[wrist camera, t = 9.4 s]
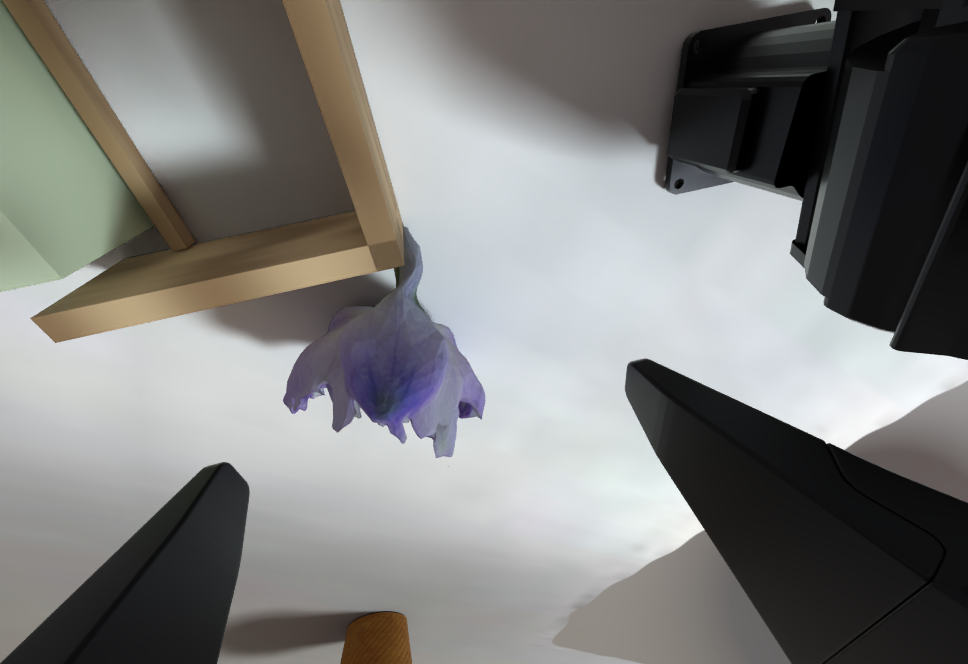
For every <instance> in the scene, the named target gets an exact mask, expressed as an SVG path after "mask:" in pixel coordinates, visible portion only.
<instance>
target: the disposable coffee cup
mask: <svg viewBox="0 0 968 664" xmlns="http://www.w3.org/2000/svg"><path fill="white" fill-rule="evenodd" d="M341 664H412V659H411V651H410V643H409V635H408V627H407V619H406V617H405V616H404V615H402V614H399V613H393V612H380V613H375V614H369V615H366V616H364V617H361V618H359V619H357V620H355V621H354V622H352V623H351V624H350V625H349V626H348V628H347V633H346V638H345V643H344V648H343V653H342V658H341Z"/></svg>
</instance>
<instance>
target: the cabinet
mask: <svg viewBox="0 0 968 664" xmlns="http://www.w3.org/2000/svg"><path fill="white" fill-rule="evenodd" d="M2 1H3V2H4V4H5V5H6V7H7V8H8V10H9V11H10V13H11V14H12V16H13V17H14V18H15V20H16V21H17V23H18V24H19V26H20V27H21V29H22V30H23V32H24V33H25V35H26V36H27V38H28V39H29V41H30V42H31V44H32V45H33V46H34V48H35V49H36V51H37V52H38V54H39V55H40V57H41V58H42V60H43V61H44V63H45V64H46V66H47V67H48V69H49V70H50V72H51V73H52V74H53V76H54V77H55V79H56V80H57V82H58V83H59V85H60V86H61V88H62V89H63V91H64V92H65V94H66V95H67V97H68V98H69V100H70V101H71V102H72V104H73V105H74V107H75V108H76V110H77V111H78V113H79V114H80V116H81V117H82V119H83V120H84V122H85V123H86V125H87V126H88V128H89V129H90V130H91V132H92V133H93V135H94V136H95V138H96V139H97V141H98V142H99V144H100V145H101V147H102V148H103V150H104V151H105V153H106V154H107V156H108V157H109V159H110V160H111V161H112V163H113V164H114V166H115V167H116V169H117V170H118V172H119V173H120V175H121V176H122V178H123V179H124V181H125V182H126V184H127V185H128V187H129V188H130V189H131V191H132V192H133V194H134V195H135V197H136V198H137V200H138V201H139V203H140V204H141V206H142V207H143V209H144V210H145V212H146V213H147V215H148V216H149V217H150V219H151V220H152V222H153V223H154V225H155V226H156V228H157V229H158V231H159V232H160V234H161V235H162V237H163V238H164V240H165V241H166V243H167V244H168V245H169V247H170V248H171V249H170V250H165V251H160V252H155V253H150V254H146V255H141V256H136V257H131V258H126V259H123V260H121V261H120V262H118V263H117V264H115V265H114V266H112V267H110V268H109V269H107V270H106V271H104V272H103V273H101V274H99V275H98V276H96V277H95V278H93V279H92V280H90V281H88V282H87V283H85V284H84V285H82V286H81V287H79V288H77V289H76V290H74V291H73V292H71V293H70V294H68V295H66V296H65V297H63V298H62V299H60V300H59V301H57V302H55V303H54V304H52V305H51V306H49V307H48V308H46V309H44V310H43V311H41V312H40V313H38V314H37V315H35V316H33V317H32V318H30V319H31V320H32V321H33V322H34V323H36V324H37V325H38V326H39V327H40V328H41V329H42V330H43V331H44V332H45V333H46V334H47V335H48V336H49V337H50V338H51V339H52V340H53V341H54V342H55V343H57V342H61V341H66V340H71V339H75V338H80V337H84V336H89V335H93V334H98V333H102V332H107V331H111V330H116V329H120V328H125V327H129V326H134V325H138V324H143V323H147V322H152V321H156V320H161V319H165V318H170V317H174V316H179V315H183V314H188V313H193V312H197V311H202V310H206V309H211V308H215V307H220V306H224V305H229V304H233V303H238V302H242V301H247V300H251V299H256V298H260V297H265V296H269V295H274V294H278V293H283V292H287V291H292V290H296V289H301V288H305V287H310V286H315V285H319V284H324V283H328V282H333V281H337V280H342V279H346V278H351V277H355V276H360V275H364V274H369V273H373V272H378V271H382V270H387V269H391V268H396V267H400V266H404V244H403V223H402V219H401V216H400V212H399V209H398V205H397V201H396V198H395V194H394V191H393V187H392V184H391V180H390V177H389V173H388V170H387V166H386V163H385V159H384V155H383V152H382V148H381V145H380V141H379V138H378V134H377V131H376V127H375V124H374V120H373V116H372V113H371V109H370V106H369V102H368V99H367V95H366V92H365V88H364V85H363V81H362V78H361V74H360V70H359V67H358V63H357V60H356V56H355V53H354V49H353V46H352V42H351V39H350V35H349V31H348V28H347V24H346V21H345V17H344V14H343V10H342V7H341V3H340V0H282V2H283V5H284V7H285V10H286V13H287V16H288V19H289V22H290V25H291V27H292V30H293V33H294V36H295V39H296V42H297V45H298V47H299V50H300V53H301V56H302V59H303V62H304V65H305V67H306V70H307V73H308V76H309V79H310V82H311V85H312V87H313V90H314V93H315V96H316V99H317V102H318V105H319V107H320V110H321V113H322V116H323V119H324V122H325V125H326V127H327V130H328V133H329V136H330V139H331V142H332V145H333V147H334V150H335V153H336V156H337V159H338V162H339V165H340V167H341V170H342V173H343V176H344V179H345V182H346V185H347V187H348V190H349V193H350V196H351V199H352V202H353V205H354V207H355V210H356V211H352V212H347V213H342V214H338V215H333V216H328V217H323V218H318V219H314V220H309V221H304V222H299V223H294V224H290V225H285V226H280V227H275V228H270V229H266V230H261V231H256V232H251V233H246V234H242V235H237V236H232V237H227V238H222V239H218V240H213V241H208V242H203V243H198V244H194V245H192V244H193V243H195V242H196V241H195V240H194V238H193V237H192V235H191V234H190V232H189V230H188V229H187V227H186V226H185V224H184V222H183V221H182V219H181V218H180V216H179V214H178V213H177V211H176V210H175V208H174V207H173V205H172V203H171V202H170V200H169V199H168V197H167V195H166V194H165V192H164V191H163V189H162V187H161V186H160V184H159V183H158V181H157V180H156V178H155V176H154V175H153V173H152V172H151V170H150V168H149V167H148V165H147V164H146V162H145V160H144V159H143V157H142V156H141V154H140V153H139V151H138V149H137V148H136V146H135V145H134V143H133V141H132V140H131V138H130V137H129V135H128V133H127V132H126V130H125V129H124V127H123V126H122V124H121V122H120V121H119V119H118V118H117V116H116V114H115V113H114V111H113V110H112V108H111V106H110V105H109V103H108V102H107V100H106V99H105V97H104V95H103V94H102V92H101V91H100V89H99V87H98V86H97V84H96V83H95V81H94V79H93V78H92V76H91V75H90V73H89V72H88V70H87V68H86V67H85V65H84V64H83V62H82V60H81V59H80V57H79V56H78V54H77V52H76V51H75V49H74V48H73V46H72V45H71V43H70V41H69V40H68V38H67V37H66V35H65V33H64V32H63V30H62V29H61V27H60V25H59V24H58V22H57V21H56V19H55V18H54V16H53V14H52V13H51V11H50V10H49V8H48V6H47V5H46V3H45V2H44V0H2Z"/></svg>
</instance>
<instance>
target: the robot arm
mask: <svg viewBox="0 0 968 664" xmlns="http://www.w3.org/2000/svg"><path fill="white" fill-rule="evenodd" d="M833 11H838V12H837V18H836V21H831V11H830V10H829V9H828V8H821V9H816V10H810V11H805V12H799V13H794V14H789V15H783V16H778V17H773V18H767V19H762V20H756V21H751V22H746V23H740V24H735V25H729V26H724V27H719V28H713V29H708V30H702V31H697V32H694V33H691V34H690V35H689V36H688V37H687V38H686V40H685V42H684V44H683V48H682V54H681V62H680V70H679V78H678V86H677V93H676V95H675V99H674V107H673V115H672V123H671V131H670V139H669V147H668V155H669V157H668V165H667V172H666V180H665V188H666V190H667V191H668V192H670V193H673V194H680V193H685V192H690V191H694V190H699V189H703V188H708V187H712V186H717V185H722V184H726V183H731V182H738V183H741V184H745V185H748V186H752V187H755V188H759V189H762V190H766V191H769V192H773V193H776V194H779V195H783V196H786V197H790V198H793V199H797V200H800V201H803V202H802V208H801V213H800V219H799V224H798V229H797V235H796V239H795V240H793V241H792V245H791V251H790V254H791V255H792V256H793V257H794V258H795V259H796V260H797V261H798V262H799V263H800V264H801V265H802V266H803V267H804V268H805V273H806V278H807V280H808V281H809V282H810V283H811V284H812V285H813V286H814V287H815V288H816V289H817V290H818V291H819V293H820V294H822V295H823V296H825V298H824V305H825V306H826V307H827V308H829V309H831V310H832V311H834V312H836V313H838V314H840V315H842V316H844V317H846V318H848V319H850V320H852V321H855V322H857V323H860V324H863V325H866V326H869V327H872V328H875V329H878V330H881V331H886V332H890V333H894V336H893V338H892V340H891V343H890V346H891V347H892V348H893V349H895V350H898V351H904V352H915V353H925V354H935V355H945V356H951V357H956V358H961V359H966V360H968V0H835V4H834V10H833ZM816 20H817V23H816V24H815V22H816ZM697 40H698V42H699V47H698V50H697V51H696V52H694V45H695V42H696V41H697ZM678 179H679V183H678V184H677V186H675V187H674V184H675V182H676V181H677V180H678ZM625 392H626V395H627V398H628V400H629V402H630V404H631V406H632V408H633V410H634V412H635V414H636V416H637V418H638V420H639V422H640V424H641V426H642V428H643V430H644V432H645V434H646V436H647V438H648V440H649V442H650V444H651V446H652V447H653V449H654V451H655V453H656V455H657V457H658V458H659V460H660V461H661V463H662V465H663V466H664V468H665V469H666V471H667V472H668V474H669V475H670V477H671V479H672V480H673V482H674V483H675V485H676V486H677V488H678V489H679V491H680V492H681V494H682V496H683V497H684V499H685V500H686V502H687V503H688V505H689V506H690V508H691V509H692V511H693V512H694V514H695V516H696V517H697V519H698V520H699V522H700V523H701V525H702V526H703V528H704V529H705V531H706V532H707V534H708V535H709V537H710V539H711V540H712V542H713V543H714V545H715V546H716V548H717V550H718V551H719V553H720V554H721V556H722V557H723V559H724V560H725V562H726V563H727V565H728V566H729V568H730V569H731V571H732V573H733V574H734V576H735V577H736V579H737V580H738V582H739V583H740V585H741V587H742V588H743V589H744V591H745V593H746V594H747V596H748V597H749V599H750V600H751V602H752V603H753V605H754V607H755V608H756V610H757V611H758V613H759V614H760V616H761V617H762V619H763V620H764V622H765V624H766V625H767V627H768V628H769V630H770V631H771V633H772V634H773V636H774V637H775V639H776V640H777V642H778V644H779V645H780V647H781V648H782V650H783V651H784V653H785V654H786V656H787V658H788V659H789V661H790V662H791V664H968V503H967V502H965V501H962V500H960V499H957V498H955V497H952V496H950V495H947V494H944V493H942V492H940V491H937V490H935V489H932V488H930V487H928V486H925V485H923V484H920V483H918V482H916V481H913V480H911V479H908V478H906V477H904V476H901V475H899V474H896V473H894V472H892V471H890V470H887V469H885V468H883V467H880V466H878V465H876V464H874V463H872V462H869V461H867V460H865V459H863V458H861V457H858V456H856V455H854V454H852V453H849V452H847V451H845V450H843V449H841V448H839V447H837V446H835V445H832V444H830V443H828V444H826V443H825V441H823V440H821V439H819V438H817V437H815V436H813V435H811V434H808V433H806V432H804V431H802V430H800V429H798V428H796V427H793V426H791V425H789V424H787V423H785V422H783V421H781V420H778V419H776V418H774V417H772V416H770V415H768V414H765V413H763V412H761V411H759V410H757V409H755V408H753V407H750V406H748V405H746V404H744V403H742V402H740V401H738V400H735V399H733V398H731V397H729V396H727V395H725V394H723V393H720V392H718V391H716V390H714V389H712V388H710V387H707V386H705V385H703V384H701V383H699V382H697V381H695V380H692V379H690V378H688V377H686V376H684V375H682V374H680V373H677V372H675V371H673V370H671V369H669V368H667V367H665V366H662V365H660V364H658V363H656V362H654V361H652V360H649V359H640V360H636V361H632V362H630V363H629V364H628V365H627V373H626V382H625ZM249 494H250V492H249V486H248V484H247V482H246V481H245V480H244V479H243V477H242V476H241V475H240V474H239V473H238V472H237V471H236V470H235V468H234V467H233V466H232V465H231V464H229V463H227V462H222V463H218V464H214V465H210V466H207V467H205V468H203V469H202V470H201V471H200V472H199V473H198V474H197V475H196V476H194V477H193V478H192V479H191V480H190V481H189V482H188V483H187V484H186V485H185V486H184V487H183V488H182V489H181V490H180V491H179V492H178V493H177V494H176V495H175V496H174V497H173V498H172V499H171V500H170V501H168V502H167V503H166V504H165V505H164V506H163V507H162V508H161V509H160V510H159V511H158V512H157V513H156V514H155V515H154V516H153V517H152V518H151V519H150V520H149V521H148V522H147V523H146V524H145V525H144V526H143V527H141V528H140V529H139V530H138V531H137V532H136V533H135V534H134V535H133V536H132V537H131V538H130V539H129V540H128V541H127V542H126V543H125V544H124V545H123V546H122V547H121V548H120V549H119V550H118V551H117V552H115V553H114V554H113V555H112V556H111V557H110V558H109V559H108V560H107V561H106V562H105V563H104V564H103V565H102V566H101V567H100V568H99V569H98V570H97V571H96V572H95V573H94V574H93V575H92V576H91V577H89V578H88V579H87V580H86V581H85V582H84V583H83V584H82V585H81V586H80V587H79V588H78V589H77V590H76V591H75V592H74V593H73V594H72V595H71V596H70V597H69V598H68V599H67V600H66V601H65V602H63V603H62V604H61V605H60V606H59V607H58V608H57V609H56V610H55V611H54V612H53V613H52V614H51V615H50V616H49V617H48V618H47V619H46V620H45V621H44V622H43V623H42V624H41V625H40V626H39V627H37V628H36V629H35V630H34V631H33V632H32V633H31V634H30V635H29V636H28V637H27V638H26V639H25V640H24V641H23V642H22V643H21V644H20V645H19V646H18V647H17V648H16V649H15V650H14V651H13V652H11V653H10V654H9V655H8V656H7V657H6V658H5V659H4V660H3V661H2V662H1V663H0V664H217V661H218V657H219V653H220V649H221V645H222V640H223V636H224V632H225V628H226V623H227V619H228V615H229V611H230V607H231V602H232V598H233V594H234V590H235V585H236V581H237V577H238V572H239V567H240V562H241V555H242V548H243V541H244V533H245V525H246V518H247V510H248V502H249Z"/></svg>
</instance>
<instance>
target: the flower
mask: <svg viewBox="0 0 968 664" xmlns="http://www.w3.org/2000/svg"><path fill="white" fill-rule="evenodd" d="M403 244H404V266H400V267H396V268H394V271H395V277H396V289H394V290H393V291H391V292H390V293H388V294H387V295H386V296H385V297H384V298H383V299H382V300H381V301H380V302H379V303H378V304H377V305H376V306H375V307H369V306H349V307H346V308H343V309H341V310H339V311H338V312H337V314H336V315H335V316H334V317H333V318H332V320H331V322H330V325H329V329H328V332H327V334H326V335H324V336H323V337H321V338H319V339H317V340H316V341H314V342H313V343H312V344H310V345H309V346H307V347H306V348H305V350H304V351H303V352H302V353H301V354H300V356H299V357H298V359H297V361H296V363H295V364H294V367H293V369H292V371H291V374H290V376H289V379H288V381H287V389H286V394H285V396H284V399H283V402H284V404H285V405H286V406H287V407H288V408H289V409H290V411H291V413H292V414H294V413H296V412H297V411H298V410H299V409H301V410H304V411H305V410H306V409H307V400H308V398H309V397H310V398H312V399H314V398H315V397H317V396H321V395H325V394H324V391H323V390H324V388H327V389H328V392H329V395H330V397H331V400H332V402H333V424H332V427H333V429H334V430H335V431H336V432H339V431H340V430H341V429H342V428H344V427H345V426H346V425H348V424H349V423H351V421H352V419H353V418H354V416H355V417H357V418H361V413H360V407H361V408H362V409H363V411H364V412H365V413H366V414H367V416H368V417H369V418H370V419H371V420H372V422H376V423H378V425H380V426H382V427H383V426H385V425H387V426H388V428H389V430H390V433H391V434H393V435H394V436H396V437H397V438H398V439H399V440H400V441H401V443H402V444H403V443H405V441H406V438H407V437H406V434H405V431H404V427H403V424H402V423H409V420H410V421H411V424H412V427H413V429H414V431H415V433H416V434H417V436H418V437H419V438H421V439H422V438H424V437H430V438H432V439H433V440H434V441H433V447H434V451H435V456H436V458H438V457H442V456H446V457H452V455H453V451H454V446H455V440H456V431H457V419H458V416H459V418H462V419H463V418H470V417H479V418H480V419H482V415H483V410H484V405H485V392H484V390H483V387H482V385H481V383H480V382H479V380H478V379H477V377H476V375H475V374H474V372H473V370H472V368H471V366H470V364H469V362H468V361H467V359H466V358H465V357H464V356H463V355H462V354H461V353H460V352H459V350H458V348H457V346H456V342H455V339H454V335H453V333H452V332H451V330H450V329H449V328H448V327H446V326H444V325H442V324H437V323H434V322H431V320H430V319H429V317H428V316H427V315H426V313H425V312H424V310H423V309H422V307H421V306H420V304H419V302H418V300H417V296H416V291H417V286H418V284H419V282H420V279H421V276H422V272H423V264H422V257H421V251H420V247H419V245H418V244H417V243H416V241H415V240H414V239H413V237H412V236H411V234H410V232H409V230H408V228H407V227H404V228H403ZM448 467H449V466H448Z"/></svg>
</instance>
